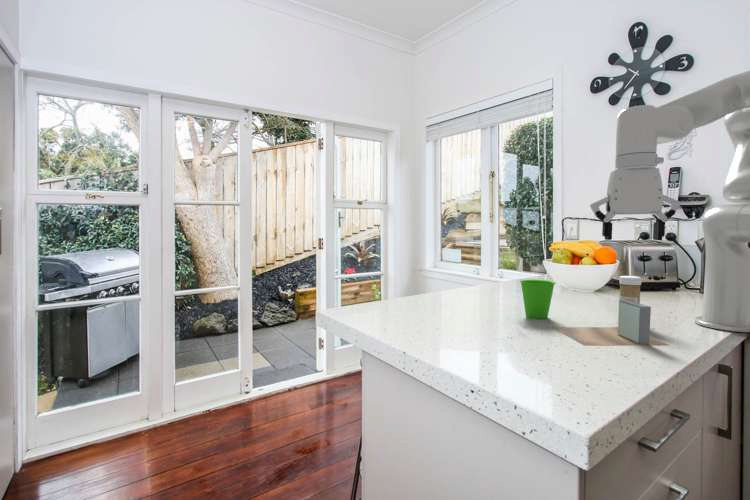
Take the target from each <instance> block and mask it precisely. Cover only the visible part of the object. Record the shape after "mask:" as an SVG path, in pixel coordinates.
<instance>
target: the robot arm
mask: <svg viewBox="0 0 750 500" xmlns="http://www.w3.org/2000/svg"><path fill="white" fill-rule="evenodd" d="M722 118H724V119H723V120H724V121H723V122H724V126H725V129H726V132H727V134H728V136H729V138H730V141H731V143H732V146H733V148H734V155H733V158H732V161H731V164H730V166H729V170H728V172H727V175H726V177H725V179H724V183H723V186H722V196H723V198H724V200H726V201H727V202H730V203H731V204H723V205H718V206H714V207H713V208H710V209H709V210H707V211H706V212H705V213H704V214H703V217H702V221H701V222H702V223H701V225H702V231H703V232H702V233H703V238H704V243H705V261H704V262H705V264H704V265H705V266H704V280H703V281H704V283H703V300H702V316H701V315H700V316H696V317H695V318H694V323H695V324H697V325H700V326H703V327H706V328H710V329H715V330H721V331H729V332H737V333H738V332H739V333H750V247H749V246H748V245H747V244H746V243H750V70H747V71H744V72H741V73H738V74H734V75H731V76H729V77H725V78H723V79H721V80H719V81H716V82H714V83H712V84H709V85H707V86H705V87H703V88H700V89H698V90H695V91H693V92H691V93H689V94H686V95H684V96H681V97H678V98H676V99H673V100H672V101H670V102H668V103H665V104H662V105H660V106H657V107H656V106H654V105H649V104H642V105H641V104H639V105H634V106H629V107H627V108H624V109H622V110H621V111H620V112H619V113H618V115H617V117H616V137H615V138H616V139H615V160H614V161H615V164H614V165H615V168H614V169H615V170H613V171H610V174H609V178H608V184H607V189H606V196H605V197H602V198H600V199H599V200H596V201H594V202H592V203H590V204H589V207H590V209H591V211H592V212H593V214H594V217H596V218H597V219H598V220H599V221H600V222H601V224H602V229H601V230H602V232H601V236H602V237H604V240H605V241H611V240H612V239H613V222H611V220H612V219H613V218H614V217H616V215H650V216H651V217H652V218H653V219H654V220H655V221H654V222H653V225H652V229H653V230H652V240H654V241H663V237H664V236H665V233H666V223H667V222H668V221H669V219H670V218H672V217H673V216H674V215H676V212H677V211H678V210H679V208H680V206H681V204H682V203H681V201H679V200H677V199H674V198H672V197H670V196H668V195H665V194H664V191H663V182H662V176H661V171H660V168H659V167H657V166H658V165H660V164H664V161H665V158H664V156H662V157H660V156H658V153H657V149H658V146H657V145H662V144H666V143H672V142H675V141H679V140H681V139H684V138H686V137H687V136H689V135H690V134H691V133H692V131H693V130H694V129H698V128H701V127H704V126H707V125H710V124H713V123H714V122H717V121H718V120H721V119H722ZM732 203H733V204H732ZM664 204H666V205H669V207H668V209H667V210H666V211H665V212H663V211H662V210H663V206H664ZM602 205H605V212H606V213H605V214H604V213H603V212H602V211H601V210H600V206H602Z"/></svg>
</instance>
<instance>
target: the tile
mask: <svg viewBox="0 0 750 500" xmlns="http://www.w3.org/2000/svg"><path fill="white" fill-rule="evenodd" d="M651 311H652V306H649V305H645V304H642V303H640V304H639V303H636V302H632V301H629V300H618V322H617V325H618V326H617V327H618V335H619V336H622V337H624V338H626V339H629V340H631V341H633V342H635V343H638V344H649V338H650V337H651V336H650V333H651V315H652V314H651V313H652V312H651Z"/></svg>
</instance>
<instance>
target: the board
mask: <svg viewBox="0 0 750 500" xmlns="http://www.w3.org/2000/svg"><path fill="white" fill-rule="evenodd" d="M552 329H554V330H556V331H557V332H559V333H561V334H563V335H564V336H566V337H568V338H569V339H572V340H573V341H576V342H577V343H579V344H581V345H582V346H670V344H668V343H666V342H663V341H661V340H659V339H656V338H652V337H651V336H650V338H649V344H638V343H635V342H633V341H631V340H629V339H626V338H624V337H622V336H619V335H618V326H612V327H611V326H605V327H604V326H595V327H592V326H590V327H589V326H586V327H584V326H583V327H579V326H576V327H575V326H573V327H571V326H569V327H568V326H567V327H566V326H565V327H561V326H559V327H557V326H553V327H552Z"/></svg>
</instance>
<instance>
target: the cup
mask: <svg viewBox="0 0 750 500" xmlns="http://www.w3.org/2000/svg"><path fill="white" fill-rule="evenodd" d="M519 283H520V284H521V290H522V291H521V292H522V297H523V298H522V299H523V304H524V310H525V311H524V312H525V313H524V314H525V317H526V318H527V319H528V318H529V319H535V320H546V319H548V317H549V312H550V307H551V302H552V298H553V291H554V287H555V285H556V282H555V281H552V280H545V279H521V280H520V281H519Z"/></svg>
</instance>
